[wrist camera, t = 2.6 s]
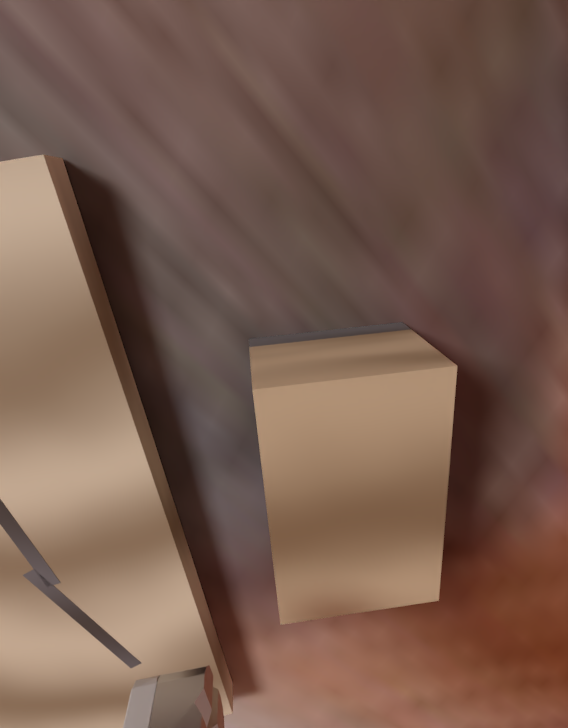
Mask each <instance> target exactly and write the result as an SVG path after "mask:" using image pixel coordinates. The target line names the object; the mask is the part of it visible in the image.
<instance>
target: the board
mask: <svg viewBox="0 0 568 728" xmlns="http://www.w3.org/2000/svg"><path fill="white" fill-rule="evenodd" d="M208 665H209V666H210V668H211V671H212V673H213V687H215V688H217V689H218V690H219V693H220V696H221V701H222V706H223V715H228V714H233V683H232V680H231V676H230V673H229V670H228V667H227V664H226V661H225V658H224V655H223V652H222V649H221V646H220V643H219V639H218V636H217V633H216V630H215V627H214V624H213V621H212V618H211V615H210V612H209V609H208V605H207V602H206V599H205V596H204V593H203V590H202V587H201V584H200V581H199V578H198V575H197V572H196V568H195V565H194V562H193V559H192V556H191V553H190V550H189V547H188V544H187V541H186V538H185V535H184V531H183V528H182V525H181V522H180V519H179V516H178V513H177V510H176V507H175V504H174V501H173V498H172V494H171V491H170V488H169V485H168V482H167V479H166V476H165V473H164V470H163V467H162V464H161V461H160V457H159V454H158V451H157V448H156V445H155V442H154V439H153V436H152V433H151V430H150V427H149V424H148V420H147V417H146V414H145V411H144V408H143V405H142V402H141V399H140V396H139V393H138V390H137V387H136V383H135V380H134V377H133V374H132V371H131V368H130V365H129V362H128V359H127V356H126V353H125V350H124V346H123V343H122V340H121V337H120V334H119V331H118V328H117V325H116V322H115V319H114V316H113V313H112V309H111V306H110V303H109V300H108V297H107V294H106V291H105V288H104V285H103V282H102V279H101V276H100V272H99V269H98V266H97V263H96V260H95V257H94V254H93V251H92V248H91V245H90V242H89V239H88V235H87V232H86V229H85V226H84V223H83V220H82V217H81V214H80V211H79V208H78V205H77V201H76V198H75V195H74V192H73V189H72V186H71V183H70V180H69V177H68V174H67V171H66V168H65V164H64V161H63V158H58V157H53V156H48V155H38V156H32V157H26V158H20V159H14V160H8V161H2V162H0V728H123V724H124V720H125V716H126V711H127V707H128V702H129V698H130V693H131V690H132V688H133V686H134V683H135V681H136V680H140V679H144V678H149V677H153V676H158V675H164V674H169V673H173V672H178V671H183V670H188V669H193V668H198V667H203V666H208Z"/></svg>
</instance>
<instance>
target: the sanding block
mask: <svg viewBox="0 0 568 728" xmlns="http://www.w3.org/2000/svg"><path fill="white" fill-rule="evenodd" d="M249 350H250V363H251V377H252V390H253V398H254V406H255V415H256V423H257V431H258V440H259V448H260V457H261V465H262V473H263V482H264V490H265V498H266V507H267V515H268V524H269V532H270V540H271V549H272V557H273V565H274V574H275V582H276V590H277V599H278V607H279V616H280V624H281V625H282V624H288V623H295V622H301V621H308V620H315V619H321V618H328V617H335V616H341V615H348V614H354V613H361V612H368V611H374V610H381V609H387V608H394V607H401V606H407V605H414V604H421V603H427V602H434V601H439V592H440V579H441V567H442V554H443V542H444V529H445V516H446V504H447V491H448V479H449V466H450V454H451V441H452V429H453V416H454V403H455V391H456V378H457V365H456V364H454V363H453V362H452V361H451V360H449V359H448V358H447V357H446V356H444V355H443V354H442V353H441V352H439V351H438V350H437V349H435V348H434V347H433V346H432V345H430V344H429V343H428V342H427V341H425V340H424V339H423V338H421V337H420V336H419V335H418V334H416V333H415V332H414V331H413V330H411V329H410V328H409V327H408V326H406V325H405V324H404V323H402V322H400V323H391V324H382V325H372V326H363V327H354V328H344V329H335V330H326V331H317V332H307V333H298V334H289V335H280V336H270V337H261V338H252V339H249Z"/></svg>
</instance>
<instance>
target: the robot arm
mask: <svg viewBox="0 0 568 728" xmlns="http://www.w3.org/2000/svg"><path fill="white" fill-rule="evenodd" d="M123 728H224V715H223V706H222V701H221V696H220V693H219V690H218V689H217V688H215V687H213V673H212V671H211V668H210V666H209V665H208V666H203V667H198V668H193V669H188V670H183V671H178V672H173V673H169V674H164V675H158V676H153V677H149V678H144V679H140V680H136V681H135V683H134V686H133V688H132V690H131V693H130V698H129V702H128V707H127V711H126V716H125V720H124V724H123Z"/></svg>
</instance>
